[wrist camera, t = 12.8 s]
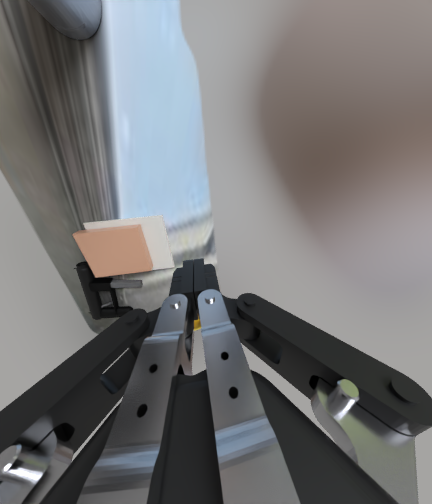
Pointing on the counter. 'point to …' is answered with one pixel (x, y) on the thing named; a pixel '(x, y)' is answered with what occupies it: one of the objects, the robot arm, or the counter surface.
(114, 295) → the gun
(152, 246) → the grey mat
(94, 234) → the terracotta tile
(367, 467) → the robot arm
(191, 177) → the counter surface
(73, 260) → the counter surface
